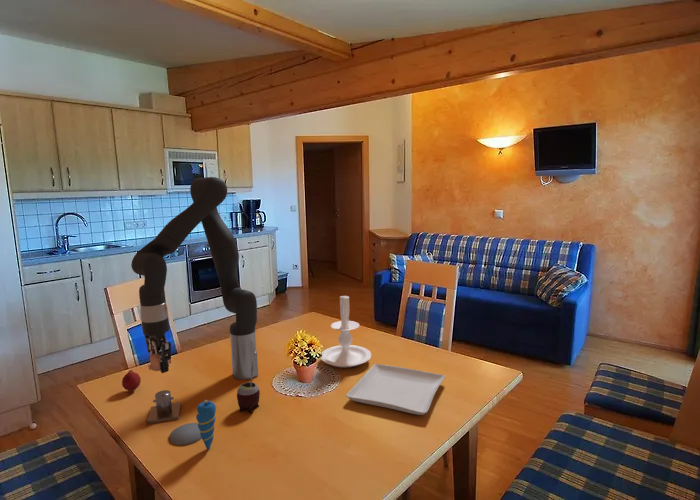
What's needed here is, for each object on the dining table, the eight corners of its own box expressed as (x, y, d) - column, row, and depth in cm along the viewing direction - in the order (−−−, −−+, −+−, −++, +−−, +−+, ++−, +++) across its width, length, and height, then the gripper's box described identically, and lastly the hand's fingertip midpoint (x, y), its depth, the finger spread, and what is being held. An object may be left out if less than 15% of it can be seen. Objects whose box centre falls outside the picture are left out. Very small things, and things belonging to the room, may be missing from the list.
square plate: (445, 383, 149) (445, 373, 149) (426, 424, 125) (426, 412, 124) (375, 370, 160) (375, 361, 160) (344, 405, 136) (344, 394, 135)
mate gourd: (240, 417, 130) (237, 372, 127) (235, 405, 137) (232, 362, 134) (264, 410, 133) (261, 366, 131) (257, 399, 140) (255, 357, 138)
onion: (133, 396, 144) (131, 374, 143) (119, 394, 145) (116, 373, 144) (145, 387, 150) (142, 367, 148) (131, 386, 151) (128, 365, 149)
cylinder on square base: (181, 404, 138) (179, 384, 137) (178, 419, 129) (176, 398, 128) (151, 409, 135) (149, 389, 134) (146, 424, 127) (144, 403, 125)
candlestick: (370, 348, 182) (370, 285, 177) (371, 373, 157) (371, 302, 153) (323, 348, 182) (322, 286, 178) (317, 373, 158) (315, 302, 153)
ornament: (202, 443, 117) (197, 394, 114) (220, 442, 117) (216, 392, 115) (196, 455, 112) (192, 403, 109) (216, 454, 112) (212, 402, 110)
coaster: (206, 422, 127) (206, 420, 127) (205, 441, 118) (205, 439, 118) (171, 428, 124) (171, 426, 124) (167, 448, 115) (167, 446, 115)
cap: (174, 366, 130) (173, 352, 130) (153, 373, 125) (152, 358, 125) (166, 361, 134) (165, 348, 133) (145, 368, 129) (144, 354, 128)
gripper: (177, 319, 125) (183, 371, 128) (157, 309, 134) (163, 359, 137) (151, 325, 119) (158, 380, 122) (133, 315, 129) (139, 366, 132)
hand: (160, 369), depth 130 cm, fingers closed on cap, 5 cm apart
